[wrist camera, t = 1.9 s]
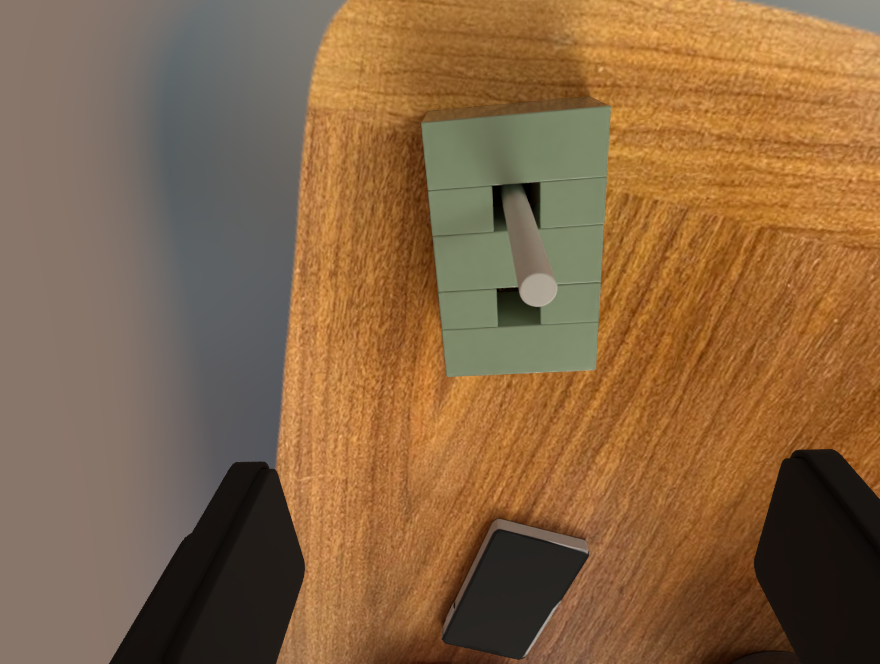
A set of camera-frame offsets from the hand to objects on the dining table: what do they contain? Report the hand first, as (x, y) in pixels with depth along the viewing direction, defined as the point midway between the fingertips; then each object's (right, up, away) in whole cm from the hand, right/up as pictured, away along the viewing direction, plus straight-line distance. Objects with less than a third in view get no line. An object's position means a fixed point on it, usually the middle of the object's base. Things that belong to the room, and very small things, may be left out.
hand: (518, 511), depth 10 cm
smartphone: (+4, -18, +35) cm, 40 cm away
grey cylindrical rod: (+2, +11, +19) cm, 22 cm away
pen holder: (+3, +9, +20) cm, 22 cm away
